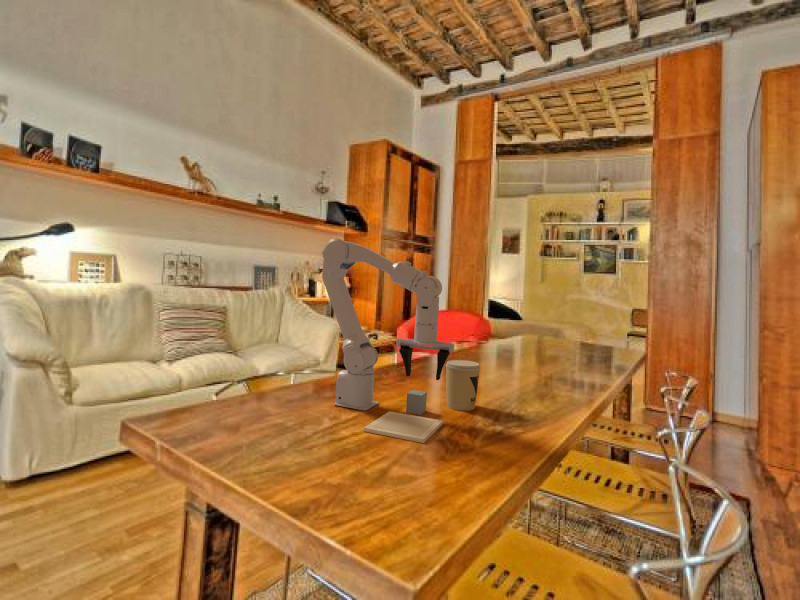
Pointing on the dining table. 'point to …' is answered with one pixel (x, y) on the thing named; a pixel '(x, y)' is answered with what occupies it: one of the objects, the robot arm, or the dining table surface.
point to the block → (416, 402)
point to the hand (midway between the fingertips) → (423, 377)
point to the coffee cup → (461, 384)
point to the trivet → (404, 426)
